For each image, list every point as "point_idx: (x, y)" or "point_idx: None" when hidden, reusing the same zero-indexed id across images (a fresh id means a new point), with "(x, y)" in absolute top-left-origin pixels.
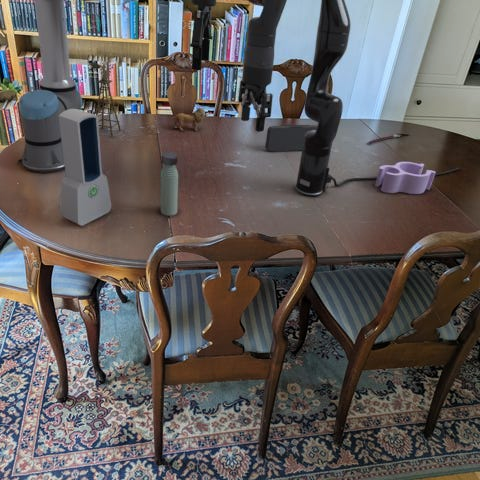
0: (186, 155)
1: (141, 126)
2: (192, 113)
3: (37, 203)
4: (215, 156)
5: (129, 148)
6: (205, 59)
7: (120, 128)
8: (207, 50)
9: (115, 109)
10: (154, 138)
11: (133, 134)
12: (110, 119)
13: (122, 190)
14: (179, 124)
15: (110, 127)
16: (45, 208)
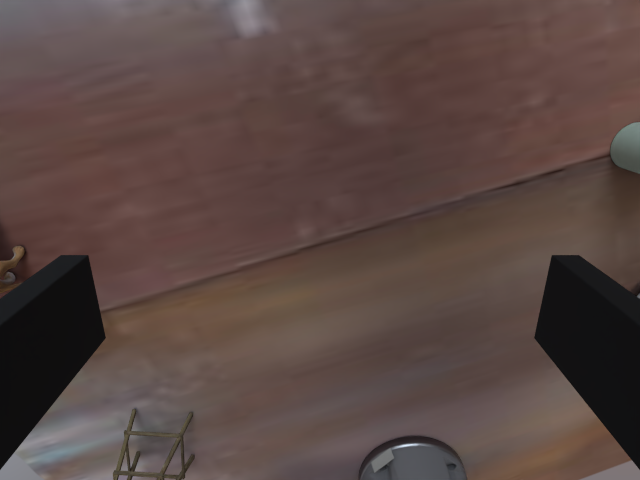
0: (230, 186)
1: None
2: None
3: None
4: (195, 83)
5: (249, 352)
6: (86, 296)
7: (131, 414)
8: (14, 341)
9: (116, 473)
10: (139, 312)
11: (140, 372)
12: (168, 457)
13: (521, 291)
14: (8, 267)
15: (182, 438)
16: None
